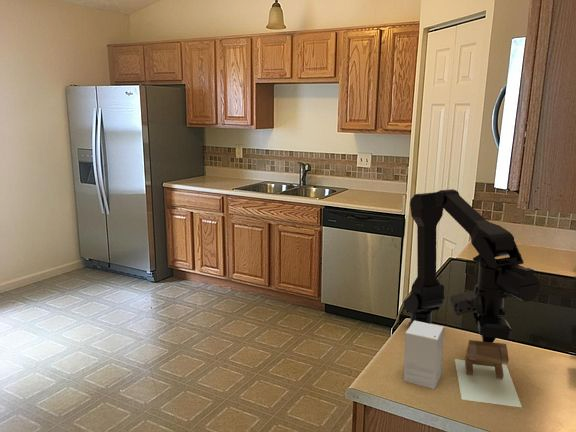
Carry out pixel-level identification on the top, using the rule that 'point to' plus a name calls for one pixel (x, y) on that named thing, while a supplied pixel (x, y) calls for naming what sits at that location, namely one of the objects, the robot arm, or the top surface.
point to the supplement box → (423, 354)
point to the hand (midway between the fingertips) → (485, 347)
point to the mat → (486, 385)
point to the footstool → (486, 356)
